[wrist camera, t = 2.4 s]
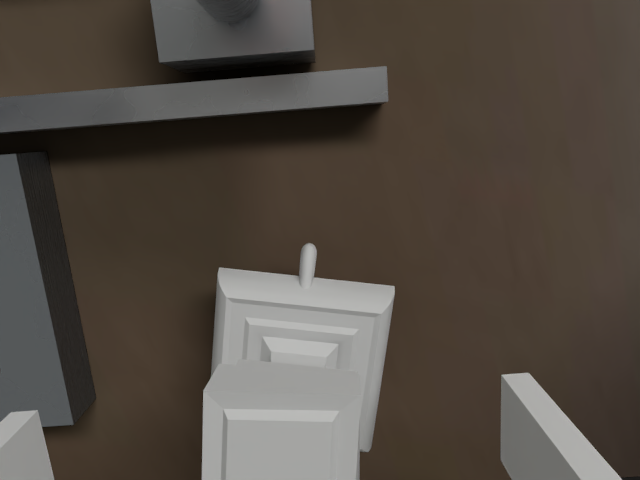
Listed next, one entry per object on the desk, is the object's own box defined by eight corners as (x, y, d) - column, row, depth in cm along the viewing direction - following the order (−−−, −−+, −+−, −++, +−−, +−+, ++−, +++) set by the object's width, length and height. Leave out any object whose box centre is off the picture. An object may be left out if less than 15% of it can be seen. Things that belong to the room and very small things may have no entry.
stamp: (364, 429, 22) (389, 607, 14) (219, 416, 22) (158, 587, 14) (390, 239, 20) (437, 315, 12) (231, 223, 20) (167, 289, 12)
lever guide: (372, -111, 17) (383, -161, 14) (382, 103, 19) (393, 98, 16) (-99, -69, 18) (-183, -109, 15) (-49, 138, 19) (-116, 139, 16)
